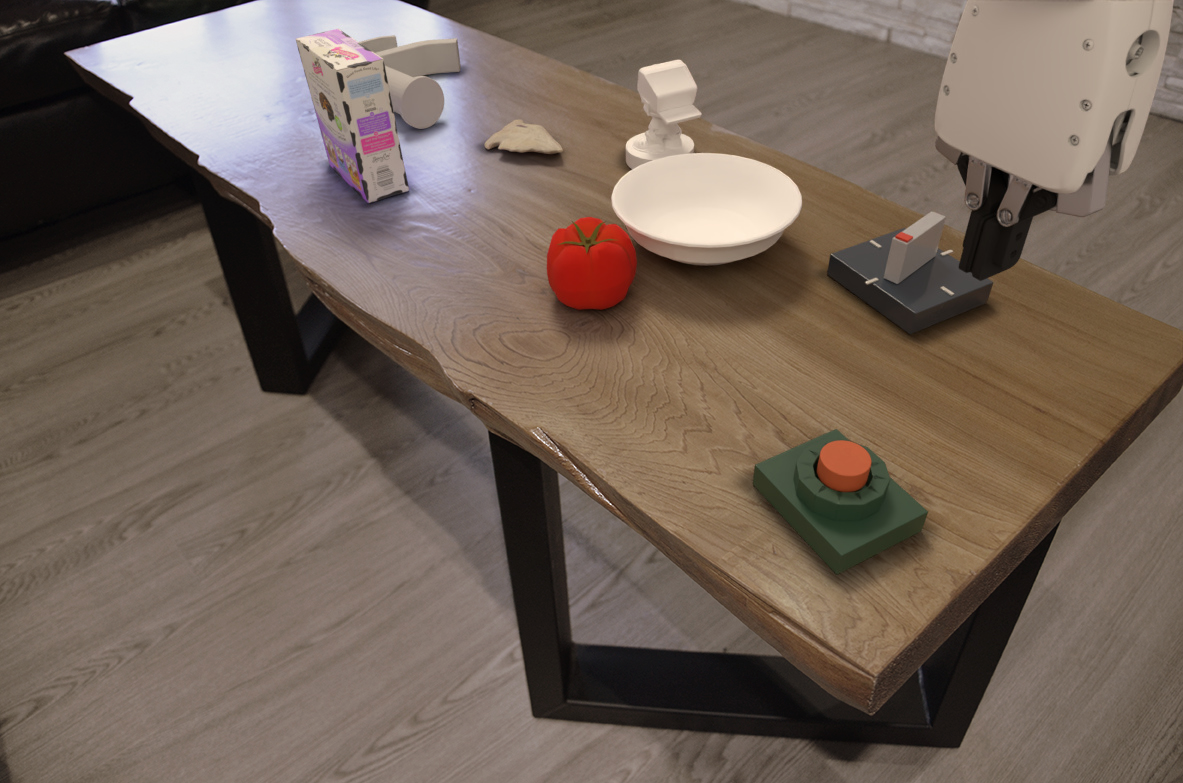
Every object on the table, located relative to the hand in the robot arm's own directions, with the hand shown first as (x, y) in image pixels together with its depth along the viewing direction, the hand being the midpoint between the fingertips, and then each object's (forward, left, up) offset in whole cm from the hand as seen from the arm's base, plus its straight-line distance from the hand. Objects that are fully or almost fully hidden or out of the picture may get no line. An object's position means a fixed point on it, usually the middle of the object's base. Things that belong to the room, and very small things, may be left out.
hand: (985, 268), depth 53 cm
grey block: (+20, -18, -17) cm, 32 cm away
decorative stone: (+69, +1, -20) cm, 72 cm away
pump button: (+1, +7, -16) cm, 18 cm away
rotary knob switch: (+20, -18, -20) cm, 34 cm away
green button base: (+1, +7, -20) cm, 21 cm away
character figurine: (+57, -12, -20) cm, 62 cm away
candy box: (+73, +22, -20) cm, 79 cm away
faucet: (+97, +7, -20) cm, 100 cm away
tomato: (+35, +10, -20) cm, 42 cm away
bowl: (+37, -5, -20) cm, 43 cm away
